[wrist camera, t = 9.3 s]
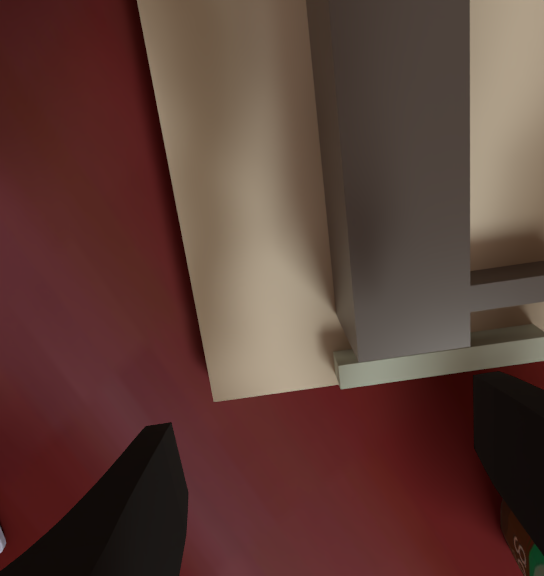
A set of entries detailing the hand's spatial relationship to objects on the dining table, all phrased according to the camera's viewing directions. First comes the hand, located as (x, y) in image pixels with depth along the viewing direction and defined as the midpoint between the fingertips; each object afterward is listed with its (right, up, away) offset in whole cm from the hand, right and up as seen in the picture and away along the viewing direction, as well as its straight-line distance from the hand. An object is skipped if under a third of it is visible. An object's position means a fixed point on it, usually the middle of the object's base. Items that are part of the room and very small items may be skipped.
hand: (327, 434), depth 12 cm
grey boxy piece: (+4, +10, +5) cm, 12 cm away
